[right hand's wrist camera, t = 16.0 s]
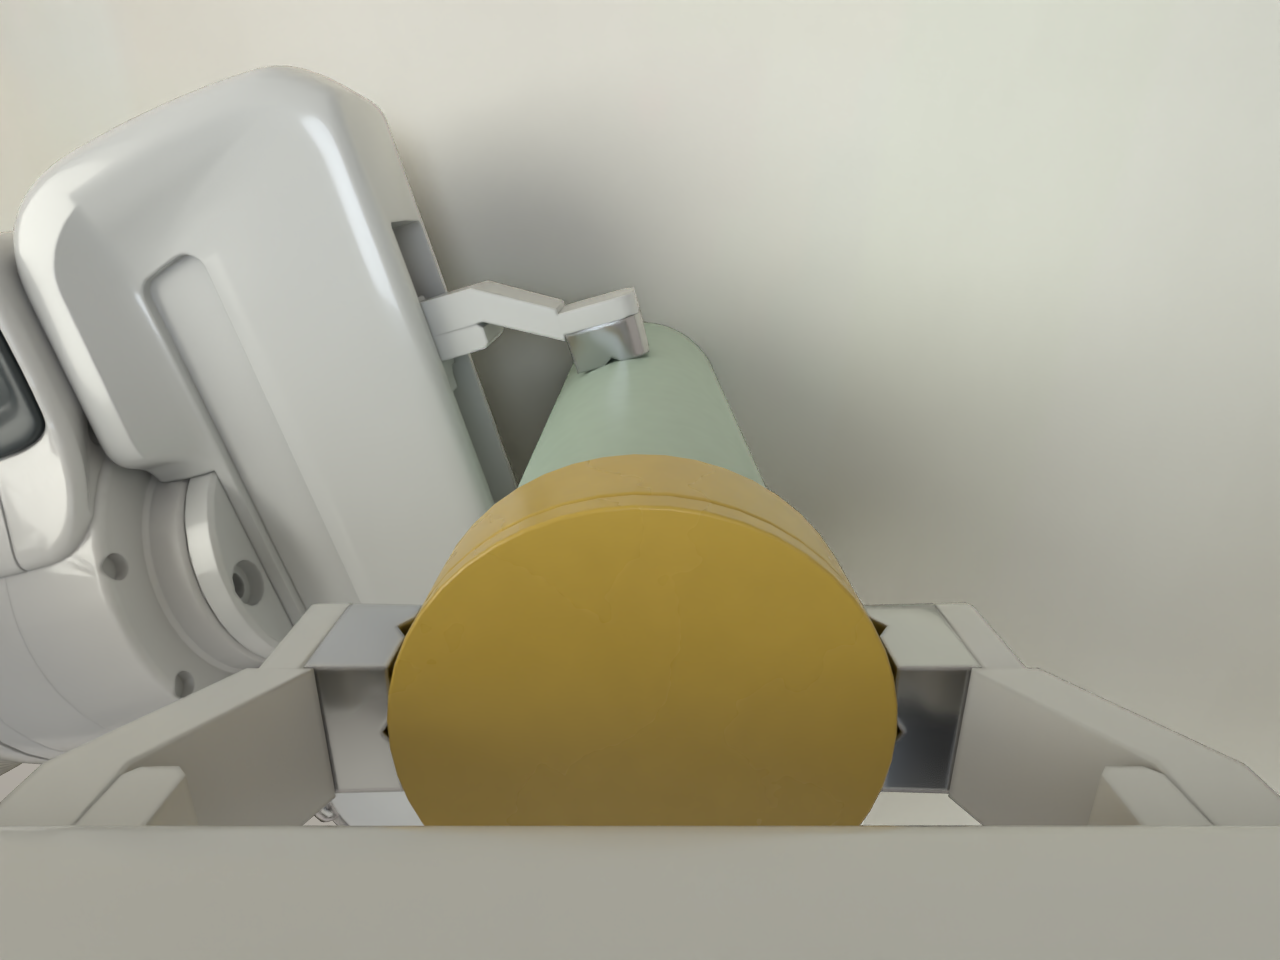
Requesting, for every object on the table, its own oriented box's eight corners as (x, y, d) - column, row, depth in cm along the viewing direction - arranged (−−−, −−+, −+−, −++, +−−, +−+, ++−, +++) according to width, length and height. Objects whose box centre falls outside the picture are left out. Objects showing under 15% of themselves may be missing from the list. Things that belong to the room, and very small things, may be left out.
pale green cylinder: (750, 388, 23) (926, 677, 9) (653, 499, 25) (669, 910, 10) (629, 288, 22) (606, 434, 8) (534, 411, 24) (365, 729, 9)
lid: (721, 362, 9) (740, 398, 7) (926, 711, 10) (980, 806, 9) (338, 594, 10) (277, 673, 8) (582, 877, 11) (572, 988, 10)
